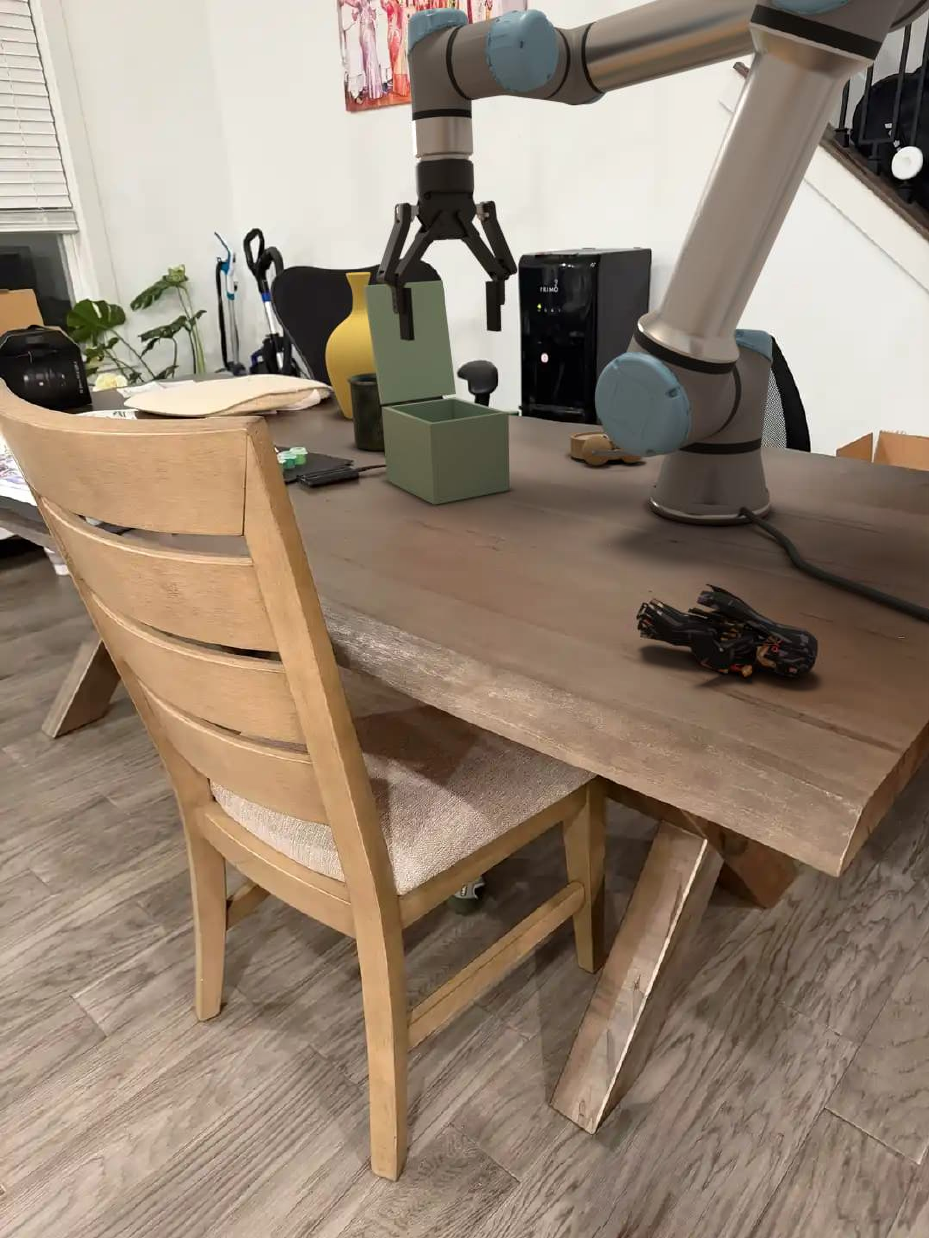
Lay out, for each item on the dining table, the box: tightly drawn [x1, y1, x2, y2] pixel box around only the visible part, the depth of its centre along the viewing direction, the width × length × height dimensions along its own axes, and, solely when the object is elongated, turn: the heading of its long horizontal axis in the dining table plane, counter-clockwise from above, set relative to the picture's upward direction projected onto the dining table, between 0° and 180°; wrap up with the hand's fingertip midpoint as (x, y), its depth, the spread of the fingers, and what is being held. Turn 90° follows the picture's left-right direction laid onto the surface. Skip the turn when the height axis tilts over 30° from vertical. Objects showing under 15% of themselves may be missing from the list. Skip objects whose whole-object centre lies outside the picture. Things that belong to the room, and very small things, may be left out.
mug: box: [347, 373, 409, 451], centre depth 149 cm, size 11×15×12 cm
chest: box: [382, 397, 510, 506], centre depth 125 cm, size 16×13×11 cm
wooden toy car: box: [569, 430, 643, 467], centre depth 138 cm, size 11×5×15 cm
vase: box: [325, 271, 376, 420], centre depth 173 cm, size 16×16×28 cm
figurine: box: [635, 583, 819, 678], centre depth 72 cm, size 9×8×15 cm
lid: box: [364, 280, 457, 404], centre depth 126 cm, size 17×13×1 cm
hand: (451, 335), depth 116 cm, fingers open, 13 cm apart
